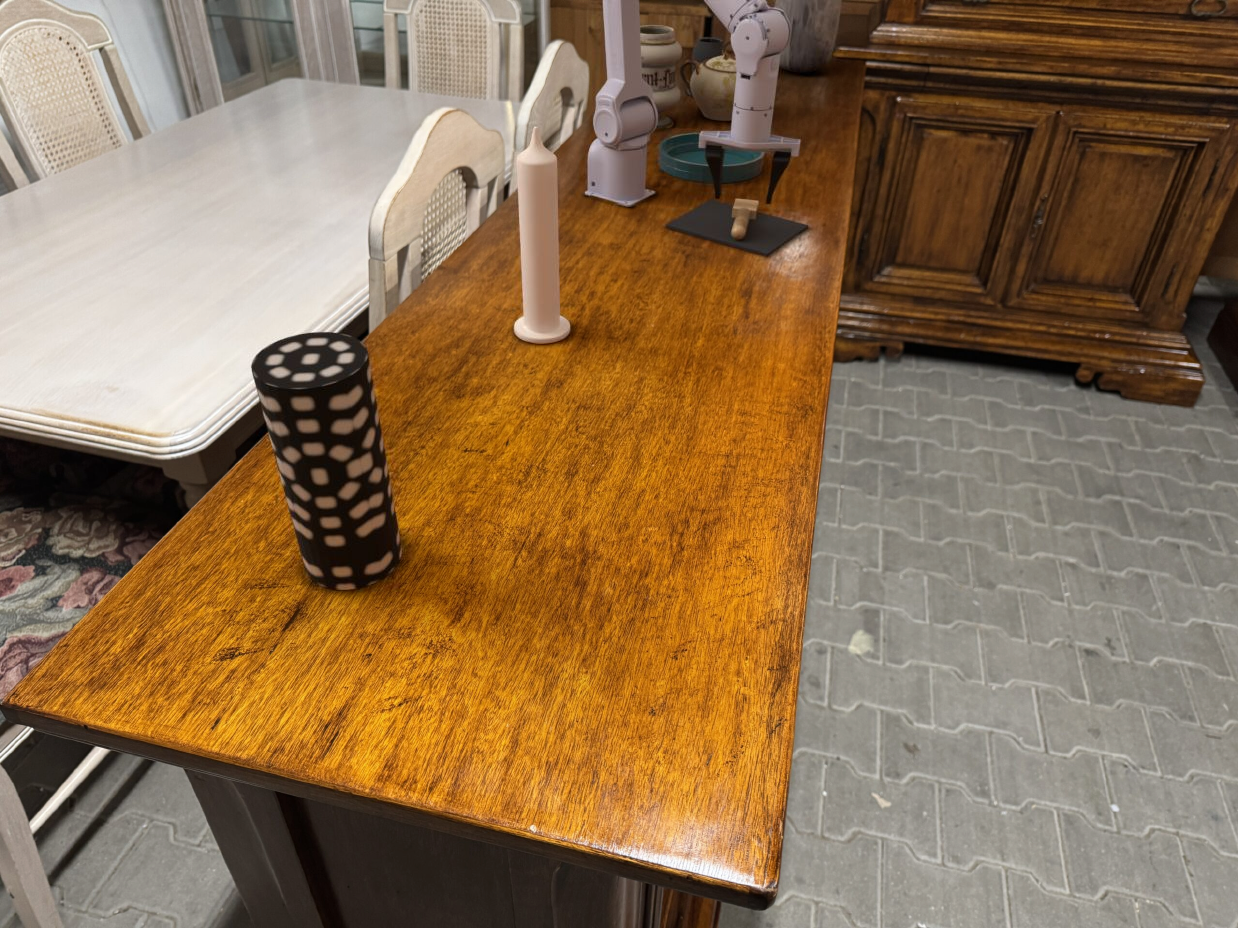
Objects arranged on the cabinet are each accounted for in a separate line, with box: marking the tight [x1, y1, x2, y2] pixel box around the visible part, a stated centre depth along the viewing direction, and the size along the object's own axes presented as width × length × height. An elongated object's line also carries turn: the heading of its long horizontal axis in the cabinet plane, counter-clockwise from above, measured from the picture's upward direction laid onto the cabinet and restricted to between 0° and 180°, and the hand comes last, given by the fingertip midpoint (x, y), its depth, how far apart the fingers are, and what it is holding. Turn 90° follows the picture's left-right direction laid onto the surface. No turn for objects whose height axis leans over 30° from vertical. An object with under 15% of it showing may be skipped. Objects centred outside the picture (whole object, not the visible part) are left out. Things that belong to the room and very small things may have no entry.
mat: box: [665, 199, 809, 258], centre depth 139 cm, size 18×14×1 cm
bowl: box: [657, 132, 766, 184], centre depth 160 cm, size 19×19×4 cm
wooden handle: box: [731, 198, 760, 240], centre depth 138 cm, size 14×4×2 cm, turn 168°
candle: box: [513, 126, 571, 345], centre depth 103 cm, size 7×7×25 cm
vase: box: [773, 0, 843, 74], centre depth 213 cm, size 16×16×30 cm
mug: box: [686, 36, 724, 96], centre depth 201 cm, size 12×9×11 cm
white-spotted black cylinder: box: [250, 331, 403, 591], centre depth 71 cm, size 8×8×20 cm
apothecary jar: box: [640, 24, 683, 129], centre depth 177 cm, size 12×12×18 cm
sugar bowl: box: [679, 39, 737, 122], centre depth 184 cm, size 20×15×15 cm
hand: (743, 199), depth 132 cm, fingers open, 7 cm apart
